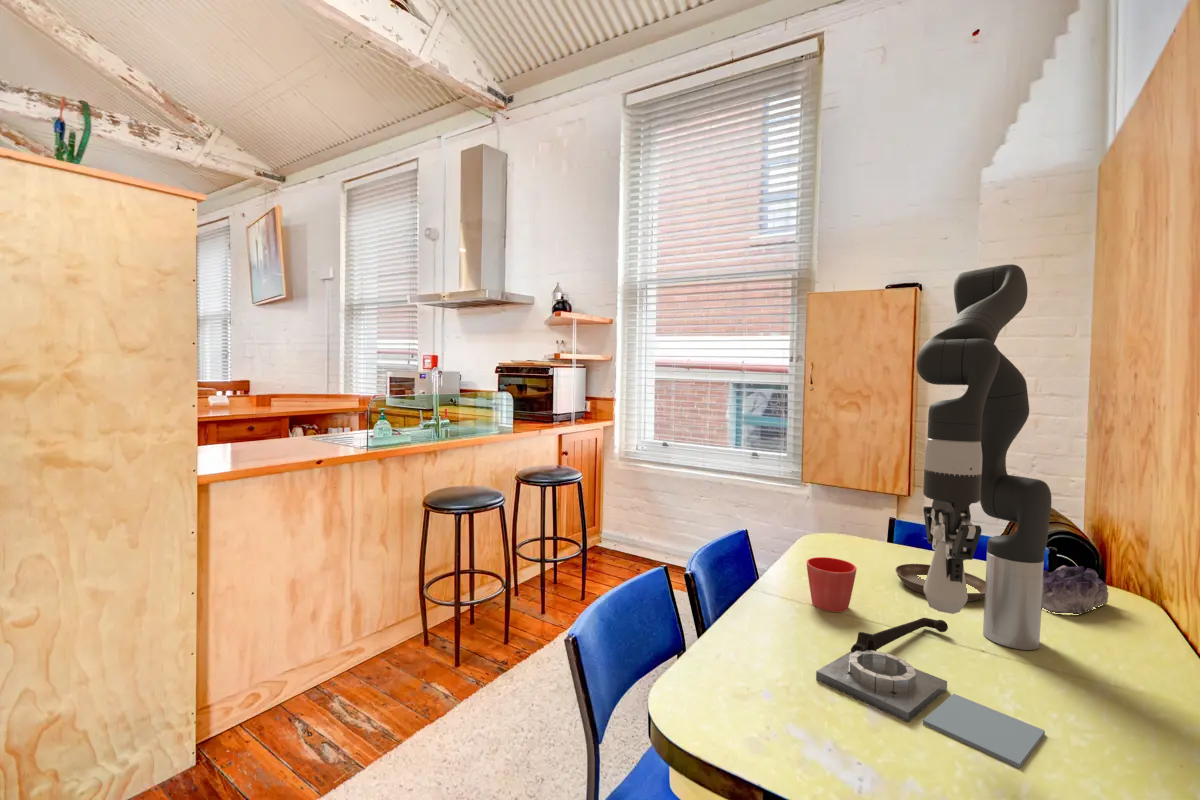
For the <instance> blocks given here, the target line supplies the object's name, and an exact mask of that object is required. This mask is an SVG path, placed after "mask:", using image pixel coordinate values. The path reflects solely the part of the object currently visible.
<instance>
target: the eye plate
mask: <svg viewBox="0 0 1200 800" xmlns="http://www.w3.org/2000/svg"><path fill="white" fill-rule="evenodd" d="M815 680H816V681H818V682H820V683H822V684H825V685H827V686H829V687H831V688H834V689H836V690H837V691H840V692H842V693H845V695H848V696H851V697H853V698H854V699H856V700H859V701H861V702H864V703H865V704H868V705H870V706H872V707H874V708H877V709H878V710H880V711H883V712H884V713H887V714H889V715H891V716H894V717H896V718H897V719H899V720H902V721H904V722H906V723H909V722H911V721H912V720H913V719H914V718H916V717H917V716H918V715H919V714H920V713H921V712H923V711H924V710H925V709H926V708H927V707H928V706H930V705H931V704H932V703H933V702H934V701H936V700H937V699H938V698H939V697H940V696H942V695H943V694H944V693H945V692H947V690H948V680H946V679H943V678H940V677H937V676H935V675H933V674H930V673H928V672H925V671H922V670H920V669H917V668H915V667H914V666H913V665H912V664H910V663H909V662H907V661H906V660H905V659H903V658H901V657H898V656H895V655H893V654H891V653H888V652H884V651H878V650H876V651H873V650H866V651H864V652H859V651H855V652H854V653H852V652H851V650H850V651H849V652H847V653H845V654H843V655H842V656H840V657H838V658H836V659H834V660H833V661H831V662H829V663H828V664H826V665H824V666H822V667H821V668H819V669H817V670H816V672H815Z"/></svg>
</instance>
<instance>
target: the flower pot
mask: <svg viewBox="0 0 1200 800" xmlns="http://www.w3.org/2000/svg"><path fill="white" fill-rule="evenodd" d="M806 571H807V576H808V578H807V580H808V587H809V593H810V598H811V603H812V605H813V606H814V607H816V608H817V609H819V610H822V611H825V612H831V613H843V612H846V611H847V610H849V606H850V602H851V599H852V595H853V589H854V585H855V579H856V574H857V567H856V565H855V564H854V563H852V562H850V561H846V560H843V559H841V558H835V557H834V558H833V557H825V556H821V557H818V556H817V557H811V558H809V559H807V560H806Z"/></svg>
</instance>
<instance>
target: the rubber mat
mask: <svg viewBox="0 0 1200 800" xmlns="http://www.w3.org/2000/svg"><path fill="white" fill-rule="evenodd" d="M922 724H923V725H924V726H927V727H928V728H932V729H934V730H935V731H938V732H939V733H942V734H944V735H947V736H948V737H951V738H953V739H955V740H957V741H959V742H962V743H964V744H966V745H968V746H970V747H972V748H975V749H976V750H979V751H981V752H983V753H985V754H988V755H989V756H992V757H994V758H995V759H998V760H999V761H1003V762H1005V763H1006V764H1009V765H1011V766H1013V767H1015V768H1018V769H1020V768H1021V767H1022V766H1023V764H1024V763H1025V762H1026V761H1027V760H1028V757H1030V755H1031V754H1032V753H1033V751H1034V750H1035V749H1036V747H1037V746H1038V745H1039V743H1040V741H1041V740H1042V739H1043V737H1044V736H1045V735H1046V730H1045V729H1043V728H1040V727H1037V726H1035V725H1033V724H1030V723H1028V722H1025V721H1022V720H1020V719H1018V718H1015V717H1013V716H1010V715H1008V714H1006V713H1003V712H1000V711H998V710H996V709H993V708H990V707H988V706H986V705H984V704H981V703H979V702H975V701H974V700H971V699H968V698H965V697H963V696H960V695H958V694H956V693H953V694H951V695H950V696H949V697H948V698H947V699H945V700H944V701H943V702H942V703H941V704H940V705H938V706H937V708H935V709H934V710H932V712H930V713H929V714H928V715H927V716H926V717H924V719H922Z"/></svg>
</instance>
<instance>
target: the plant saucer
mask: <svg viewBox="0 0 1200 800" xmlns="http://www.w3.org/2000/svg"><path fill="white" fill-rule="evenodd" d="M930 565H931V564H925V563H924V564H923V563H905V564H900V565H897V566H896V567H895V573H896V574H897V577H898V578H899V579H900V581H901V582H902V583H903V584H904V585H905V586H906V587H907V588H909V589H911V590H912V589H913V590H912V591H914V590H915V592H916V593H919V594H921V593H922V595H924V594H925V593H924V585H925V582H926V580H924V579H921V577H919V576H917V575H928V572H929V569H930ZM964 573H965V580H966V584H968V585H970V586H972V587H974V588H975V589H977V590H978V591H979V592H980V593H967V595H968V599H967V602H973V601H974V600H975V601H977V600H980V599H982V598H985V584H986V580H985V579H982V578H980V577H979V576H976V575H973V574H972V573H968V572H965V571H964ZM918 577H919V578H918Z"/></svg>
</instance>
